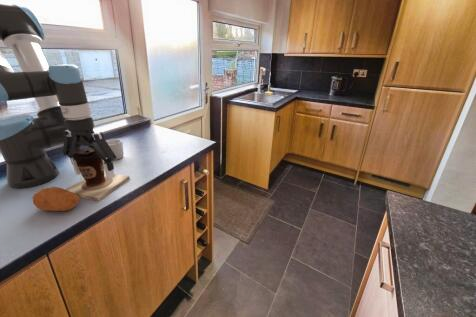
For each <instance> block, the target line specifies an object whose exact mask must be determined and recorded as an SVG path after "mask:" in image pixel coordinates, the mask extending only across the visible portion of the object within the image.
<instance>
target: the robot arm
mask: <svg viewBox="0 0 476 317" xmlns="http://www.w3.org/2000/svg"><path fill="white" fill-rule="evenodd" d="M44 40H45V32H44V30H43V27H42V23H41V22H40V20H39V18H38V16H37V14H36V13H35V12H34V11H33V10H31V9H30V8H28V7H26V6H21V5H16V4H1V3H0V41H2V42H3V44H4V46H5V47H6V48H8V49H10V50H12V53H13V54H14V57H15V58H16V61H17V63H18V65H19V67H20V69H21V71H18V72H17V71H15V70H14V69H13V67H12V66H11V64H10V63H9V62H8V60H7V58H6V57H5V55H4V54H3V52H2V51H1V50H0V102H2V103H3V102H4V103H5V102H10V101H18V100H26V99H34V100H35V101H36V105H37V106H38V111H37V112H36V116H37V117H35V118H34V117H33V115H31V114H22V115H15V116H11V117H7V118H4V119H1V120H0V153H1V155H2V157H3V160H4V162H5V165H6V181H7V184H8V186H9V187H11V188H13V189H26V188H31V187H32V188H33V187H36V186H41V185H42V184H45V183H47V182H50V181H52V180H53V179H55V178H56V177H57V176H59V173H60V171H59V169H58V166H57V165H56V164H55V163H54V162H53V161H52V160H51V159H50V157H49V156H48V154H47V152H46V149H49V148H55V147H58V146H63V148H62V154H63V155H64V156H67V157H68V158H69V159H70V162H71V165H72V167H73V169H74V172H75V175H76V176H78V175H81V172H80V170H79V168H78V166H77V163H76V160H74V159H73V156H74V152H75V151H76V150H78V149H81V148H80V147H81V146H84V147H85V146H87V147H89V148H92V149H93V150H94V151H95V152H96V153H97V154H98V155H99V156H100V158H101V159H102V161H103V166H104V172H105V173H106V177H107V180H110V179H112V178H113V177H115V175H114V174H115V172H114V164H113V161H116V160H115V159H117V157H116V155H115V154H114V152H113V151H112V149H111V148H110V146H109V145H108V143H107V142H106V139H105V136H104V133H103V132H102V131H100V132H97V133H96V132H95V131H94V127H95V122H94V119H93V117H92V116H91V115H92V111H91V108H90V104H89V101H88V98H87V94H86V90H85V89H86V88H85V85H84V83H83V82H84V81H83V76H82V75H81V71H80V69H79V67H78V66H77V65H75V64H52V65H49V64H48V62H47V59H46V57H45V56H44V53H43V50H42V48H41V47H42V45H43V44H44V43H43V41H44Z"/></svg>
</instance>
